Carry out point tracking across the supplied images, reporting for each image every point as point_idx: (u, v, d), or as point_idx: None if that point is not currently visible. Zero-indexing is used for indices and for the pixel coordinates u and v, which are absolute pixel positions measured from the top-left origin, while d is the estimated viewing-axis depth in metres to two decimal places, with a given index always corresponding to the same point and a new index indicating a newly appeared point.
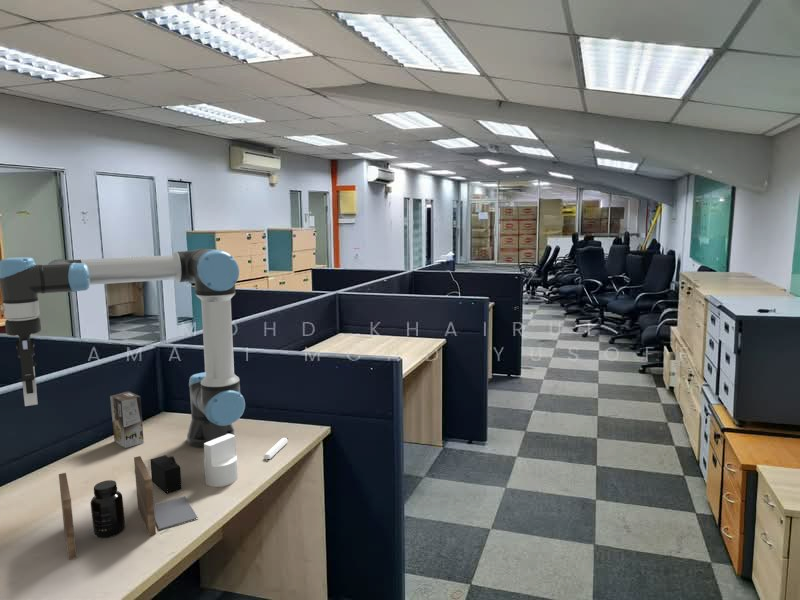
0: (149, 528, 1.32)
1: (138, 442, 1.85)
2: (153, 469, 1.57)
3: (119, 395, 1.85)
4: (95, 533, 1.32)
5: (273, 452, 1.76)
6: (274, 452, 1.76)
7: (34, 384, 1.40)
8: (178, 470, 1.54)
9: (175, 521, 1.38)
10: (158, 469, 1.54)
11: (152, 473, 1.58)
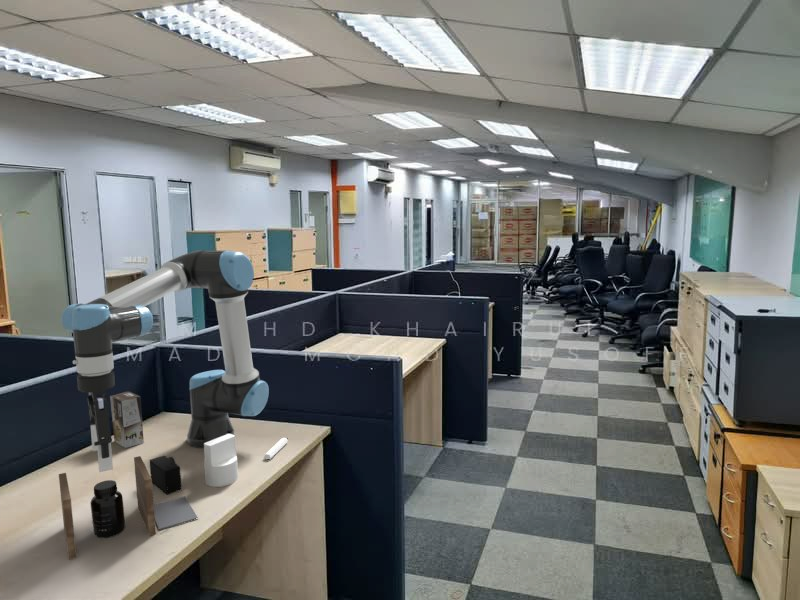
0: (149, 528, 1.32)
1: (138, 442, 1.85)
2: (152, 469, 1.57)
3: (119, 395, 1.85)
4: (95, 533, 1.32)
5: (273, 452, 1.76)
6: (274, 452, 1.76)
7: (110, 447, 1.25)
8: (178, 470, 1.53)
9: (175, 521, 1.38)
10: (158, 469, 1.54)
11: (151, 473, 1.58)
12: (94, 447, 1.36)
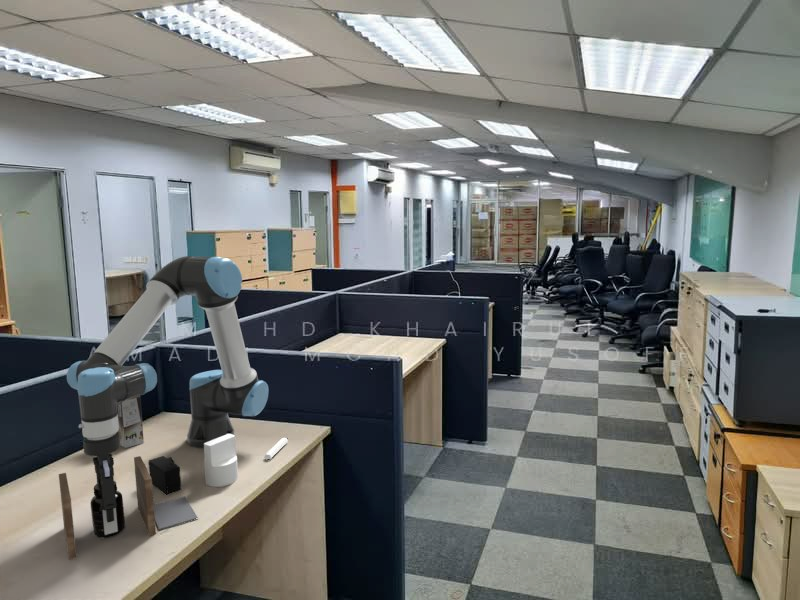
0: (149, 528, 1.32)
1: (138, 442, 1.85)
2: (152, 470, 1.57)
3: None
4: (95, 533, 1.32)
5: (274, 452, 1.75)
6: (275, 452, 1.76)
7: (114, 511, 1.31)
8: (178, 471, 1.53)
9: (175, 521, 1.38)
10: (157, 470, 1.54)
11: (150, 474, 1.57)
12: None
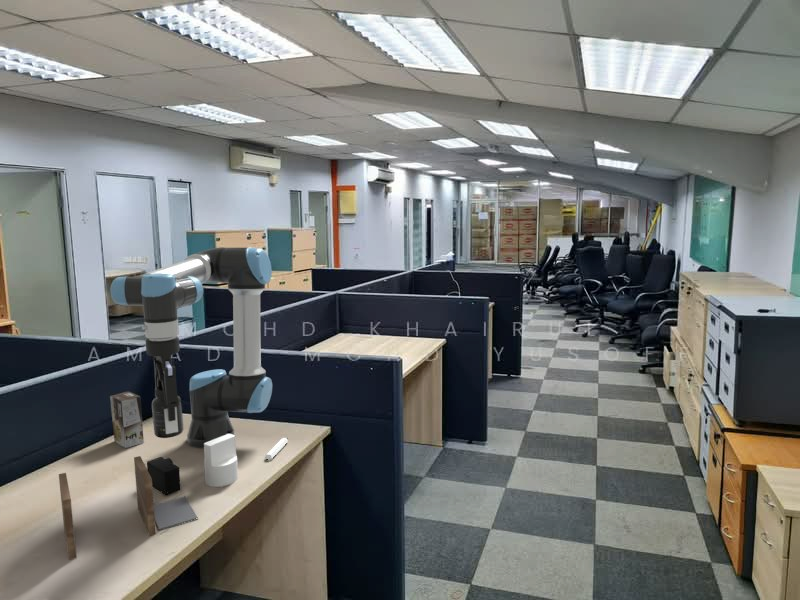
0: (149, 528, 1.32)
1: (138, 442, 1.85)
2: (150, 471, 1.56)
3: (119, 395, 1.85)
4: (156, 433, 1.37)
5: (274, 452, 1.75)
6: (275, 452, 1.76)
7: (175, 411, 1.36)
8: (177, 471, 1.53)
9: (175, 521, 1.38)
10: (156, 471, 1.53)
11: None
12: None
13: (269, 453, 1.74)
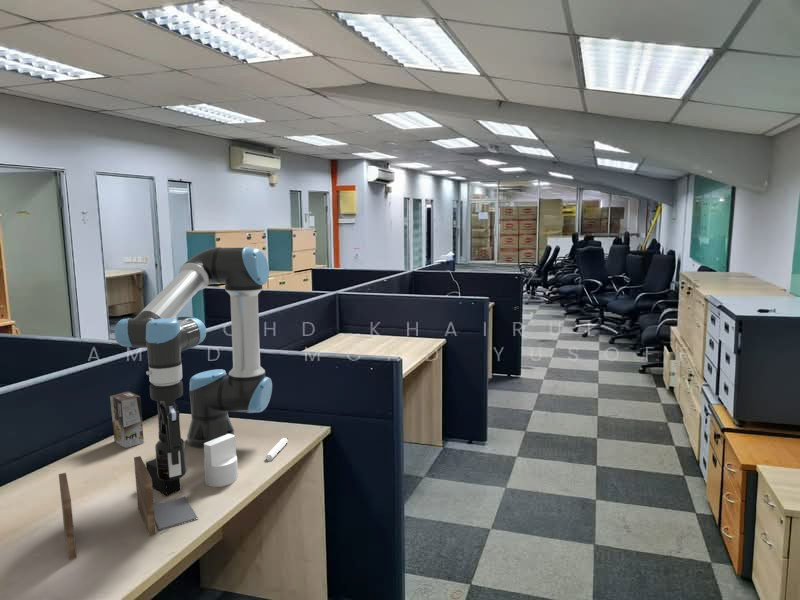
0: (149, 528, 1.32)
1: (138, 442, 1.85)
2: (149, 472, 1.56)
3: (119, 395, 1.85)
4: (160, 476, 1.38)
5: (275, 452, 1.75)
6: (276, 452, 1.76)
7: (179, 454, 1.37)
8: None
9: (175, 521, 1.38)
10: (156, 471, 1.53)
11: None
12: None
13: (269, 453, 1.74)
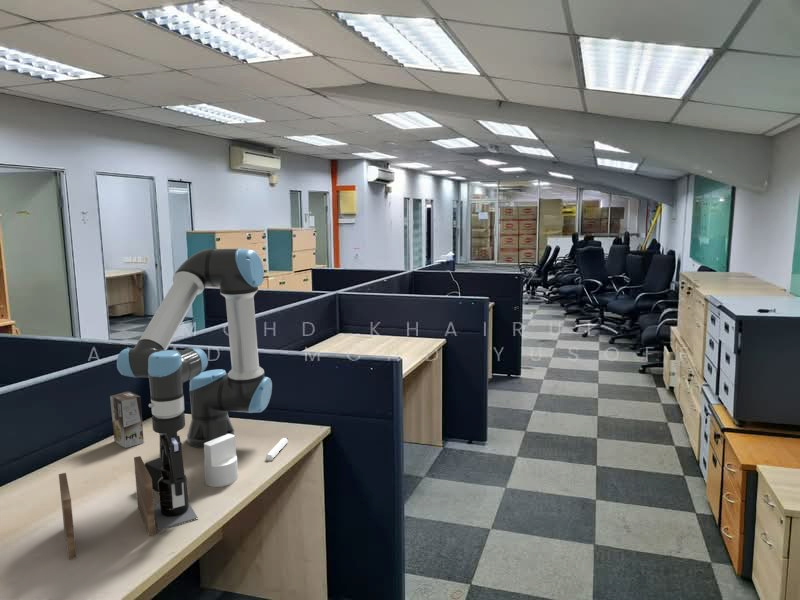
0: (149, 528, 1.32)
1: (138, 442, 1.85)
2: (149, 472, 1.55)
3: (119, 395, 1.85)
4: (162, 512, 1.40)
5: (275, 452, 1.75)
6: (276, 452, 1.76)
7: (182, 485, 1.38)
8: None
9: (175, 521, 1.38)
10: (155, 472, 1.53)
11: None
12: None
13: (270, 453, 1.73)
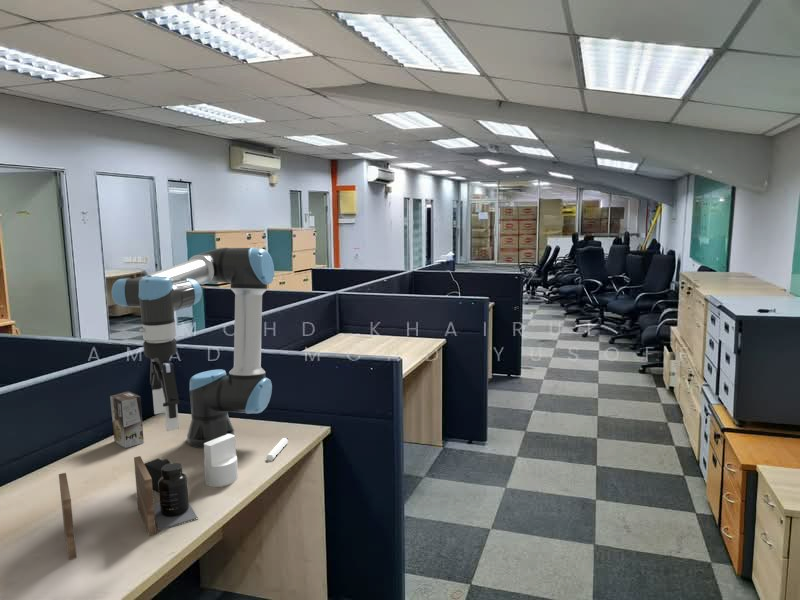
0: (149, 528, 1.32)
1: (138, 442, 1.85)
2: None
3: (119, 395, 1.85)
4: (162, 512, 1.40)
5: (275, 452, 1.75)
6: (276, 452, 1.76)
7: (176, 408, 1.36)
8: None
9: (175, 521, 1.38)
10: (155, 472, 1.52)
11: None
12: (156, 410, 1.46)
13: (270, 453, 1.73)
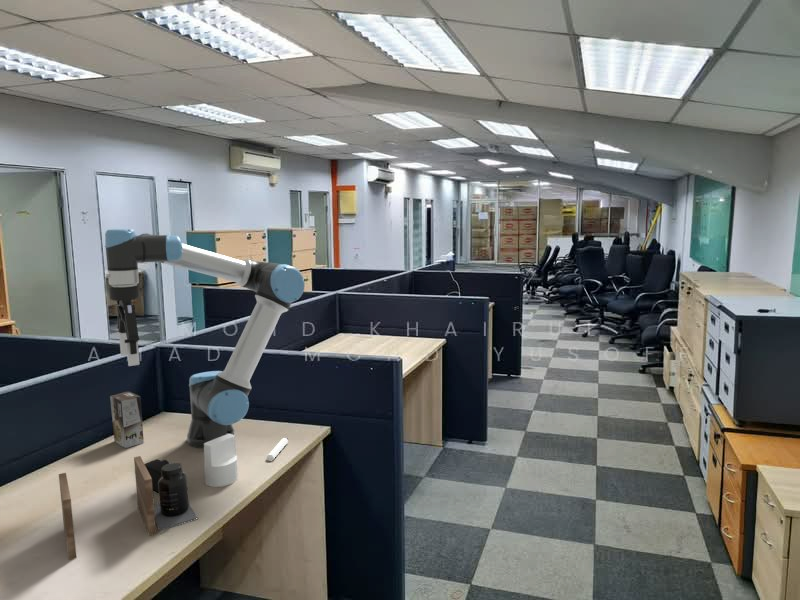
0: (149, 528, 1.32)
1: (138, 442, 1.85)
2: None
3: (119, 395, 1.85)
4: (162, 512, 1.40)
5: (276, 452, 1.75)
6: (277, 452, 1.76)
7: (137, 346, 1.52)
8: None
9: (175, 521, 1.38)
10: (154, 473, 1.52)
11: None
12: (122, 352, 1.62)
13: (271, 453, 1.73)
